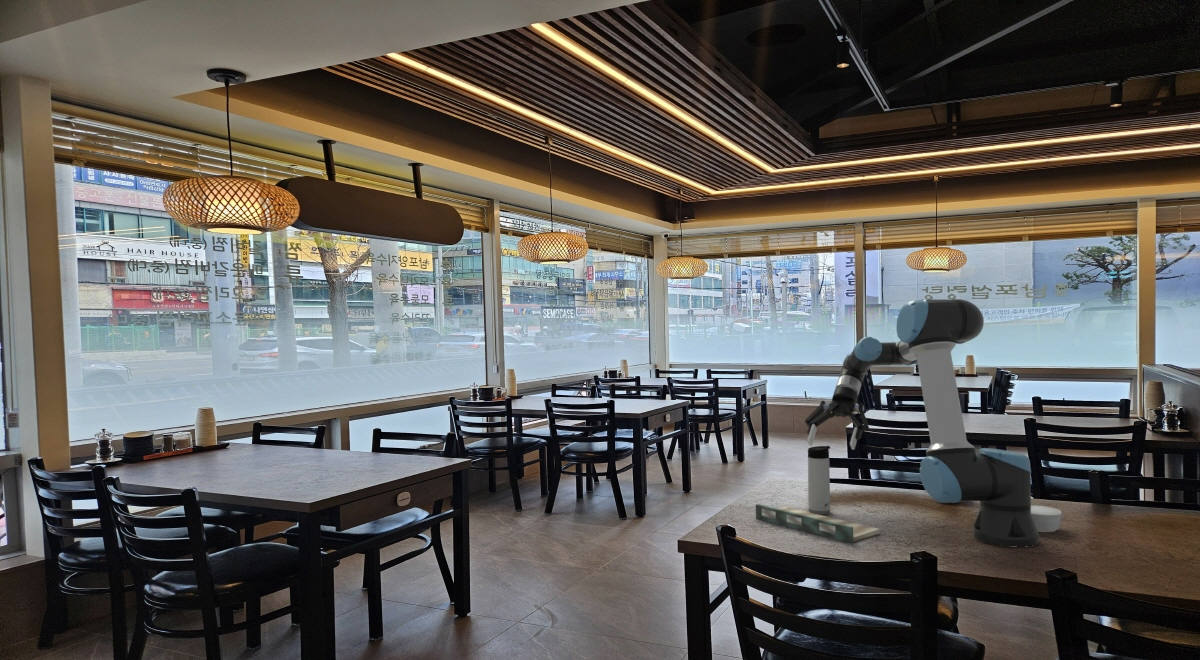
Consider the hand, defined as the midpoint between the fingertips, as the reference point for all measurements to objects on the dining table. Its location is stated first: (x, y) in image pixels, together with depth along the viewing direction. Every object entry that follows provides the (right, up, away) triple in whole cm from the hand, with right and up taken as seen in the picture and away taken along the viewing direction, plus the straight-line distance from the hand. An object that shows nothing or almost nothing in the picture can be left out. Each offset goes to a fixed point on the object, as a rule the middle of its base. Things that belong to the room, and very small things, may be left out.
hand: (830, 444), depth 230 cm
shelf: (-11, -19, -22) cm, 31 cm away
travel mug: (-6, -19, -8) cm, 22 cm away
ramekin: (+48, -19, -29) cm, 59 cm away
